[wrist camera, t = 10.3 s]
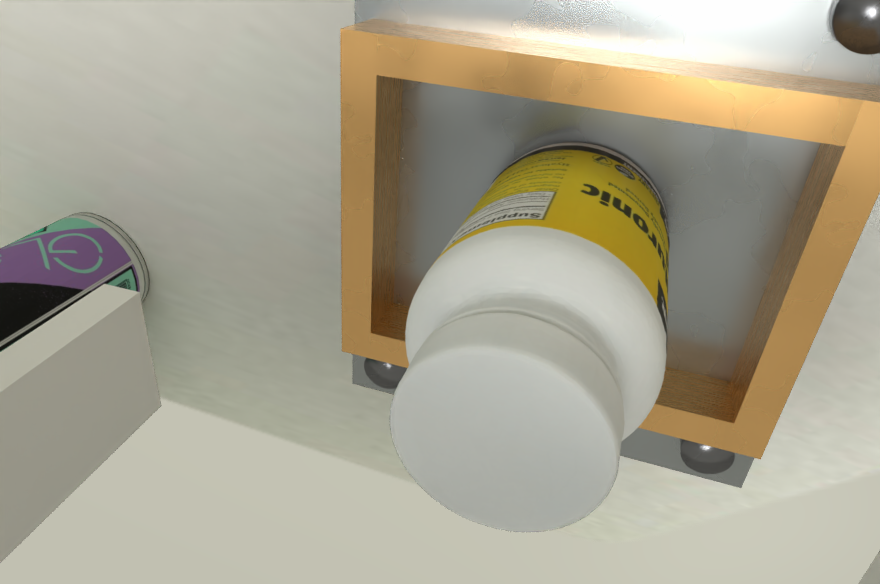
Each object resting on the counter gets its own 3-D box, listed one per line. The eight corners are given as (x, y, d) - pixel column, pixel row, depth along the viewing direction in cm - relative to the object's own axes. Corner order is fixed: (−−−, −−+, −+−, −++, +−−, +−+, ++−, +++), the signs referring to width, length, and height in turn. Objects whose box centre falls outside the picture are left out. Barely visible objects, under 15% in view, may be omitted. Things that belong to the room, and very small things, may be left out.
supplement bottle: (697, 278, 19) (711, 551, 11) (527, 326, 21) (432, 575, 13) (630, 103, 17) (586, 267, 9) (453, 177, 20) (293, 358, 11)
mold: (399, 317, 29) (329, 416, 23) (420, -104, 21) (320, -114, 15) (731, 397, 26) (746, 534, 20) (909, -63, 18) (1021, -54, 12)
